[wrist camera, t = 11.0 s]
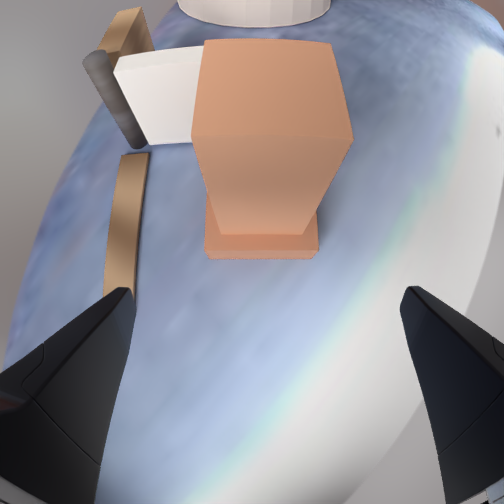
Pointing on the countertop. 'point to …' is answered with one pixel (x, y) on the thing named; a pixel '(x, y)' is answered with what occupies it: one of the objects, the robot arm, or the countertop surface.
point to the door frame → (133, 165)
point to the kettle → (255, 12)
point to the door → (162, 91)
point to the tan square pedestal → (267, 144)
